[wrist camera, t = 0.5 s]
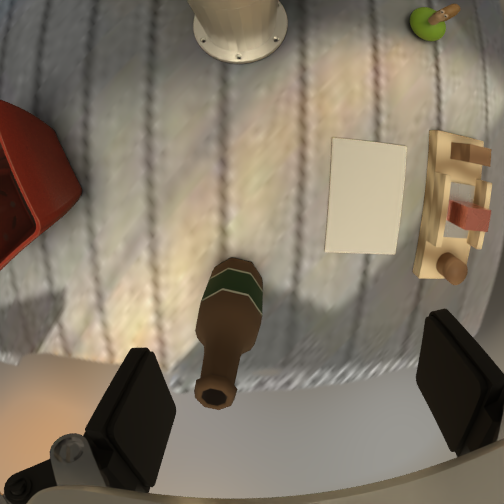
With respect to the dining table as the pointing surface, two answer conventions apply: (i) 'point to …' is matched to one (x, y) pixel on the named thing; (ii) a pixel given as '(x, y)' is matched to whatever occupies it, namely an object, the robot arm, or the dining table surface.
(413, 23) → the snail figurine
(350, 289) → the dining table surface
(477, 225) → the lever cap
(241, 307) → the beer bottle
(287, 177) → the dining table surface
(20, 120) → the plant pot
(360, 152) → the mat
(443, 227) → the body
